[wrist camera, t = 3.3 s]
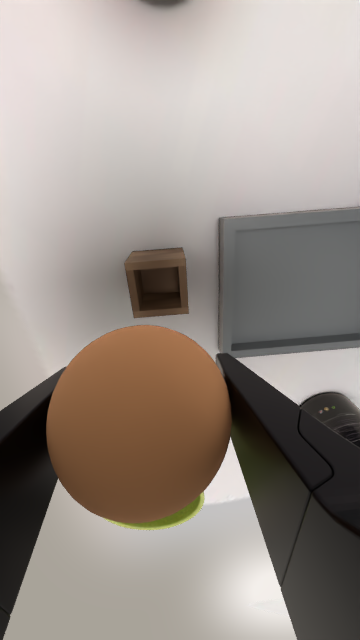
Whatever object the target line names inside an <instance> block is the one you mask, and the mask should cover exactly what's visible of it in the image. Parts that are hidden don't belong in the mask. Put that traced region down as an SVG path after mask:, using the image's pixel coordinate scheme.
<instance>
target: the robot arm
mask: <svg viewBox="0 0 360 640" xmlns="http://www.w3.org/2000/svg"><path fill="white" fill-rule="evenodd" d="M216 365H217V367H218V368H219V370H220V372H221V374H222V376H223V378H224V381H225V383H226V385H227V389H228V393H229V397H230V402H231V414H232V425H231V434H230V436H231V440H232V443H233V446H234V449H235V452H236V455H237V458H238V461H239V464H240V467H241V470H242V473H243V476H244V479H245V482H246V485H247V488H248V491H249V494H250V497H251V500H252V503H253V506H254V509H255V512H256V515H257V518H258V521H259V525H260V527H261V530H262V534H263V536H264V539H265V542H266V546H267V549H268V552H269V555H270V558H271V561H272V564H273V567H274V570H275V573H276V576H277V579H278V582H279V585H280V587H281V592H282V595H283V598H284V601H285V604H286V607H287V610H288V613H289V616H290V619H291V622H292V625H293V628H294V631H295V634H296V637H297V640H360V448H359V447H358V446H356V445H355V444H353V443H351V442H350V441H348V440H347V439H345V438H344V437H342V436H341V435H339V434H338V433H336V432H335V431H333V430H332V429H330V428H329V427H327V426H326V425H325V424H323V423H322V422H320V421H319V420H318V419H316V418H315V417H313V416H312V415H311V414H309V413H308V412H307V411H305V410H304V409H301V407H300V406H298V405H297V404H296V403H294V402H293V401H292V400H290V399H289V398H288V397H286V396H285V395H284V394H282V393H281V392H279V391H278V390H277V389H275V388H274V387H273V386H271V385H270V384H269V383H267V382H266V381H265V380H263V379H262V378H261V377H259V376H258V375H257V374H255V373H254V372H253V371H251V370H250V369H249V368H247V367H246V366H244V365H243V364H242V363H240V362H239V361H238V360H236V359H235V358H234V357H232V356H231V355H230V354H228V353H218V354H216ZM65 369H66V367H64V368H62V369H61V370H59V371H58V372H57V373H55V374H54V375H52V376H51V377H49V378H48V379H46V380H45V381H43V382H42V383H40V384H39V385H38V386H36V387H35V388H33V389H32V390H30V391H29V392H27V393H26V394H25V395H23V396H22V397H20V398H19V399H17V400H16V401H14V402H13V403H11V404H10V405H8V406H7V407H5V408H4V409H2V410H1V411H0V640H3V637H4V634H5V631H6V629H7V626H8V623H9V620H10V614H11V613H12V610H13V607H14V605H15V602H16V599H17V596H18V593H19V590H20V587H21V584H22V581H23V578H24V575H25V572H26V570H27V567H28V564H29V561H30V558H31V555H32V552H33V549H34V546H35V544H36V541H37V538H38V535H39V532H40V529H41V526H42V523H43V520H44V517H45V515H46V511H47V508H48V506H49V503H50V500H51V497H52V494H53V491H54V488H55V485H56V483H57V480H58V476H57V474H56V472H55V470H54V468H53V465H52V463H51V459H50V455H49V452H48V446H47V436H46V423H47V414H48V409H49V404H50V401H51V397H52V394H53V391H54V389H55V387H56V385H57V383H58V381H59V379H60V377H61V375H62V373H63V372H64V370H65Z"/></svg>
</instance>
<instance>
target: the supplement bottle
mask: <svg viewBox="0 0 360 640" xmlns="http://www.w3.org/2000/svg"><path fill="white" fill-rule="evenodd" d="M301 409H304V410H305V411H307V412H308V413H309V414H311V415H312V416H313V417H315V418H316V419H318V420H319V421H320V422H322V423H323V424H325V425H326V426H327V427H329V428H330V429H332V430H333V431H335V432H336V433H338V434H339V435H341V436H342V437H344V438H345V439H347V440H348V441H350V442H351V443H353V444H355V445H356V446H358V447H359V448H360V410H359V409H358V408H357V407H356V406H355V405H354V404H353V403H352V402H351V401H350V400H349V399H348V398H347V397H345V396H343V395H340V394H336V393H324V394H320V395H317V396H314V397H312V398H310V399H309V400H307V401H306V402H305V403H304V404H303V405H302V406H301Z"/></svg>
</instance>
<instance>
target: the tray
mask: <svg viewBox="0 0 360 640" xmlns="http://www.w3.org/2000/svg"><path fill="white" fill-rule="evenodd" d="M358 347H360V207H349V208H336V209H323V210H311V211H298V212H285V213H272V214H260V215H247V216H234V217H221V218H219V351H220V353H228V354H230V355H231V356H232V357H234V358H241V357H253V356H265V355H276V354H288V353H300V352H311V351H323V350H335V349H346V348H358Z"/></svg>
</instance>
